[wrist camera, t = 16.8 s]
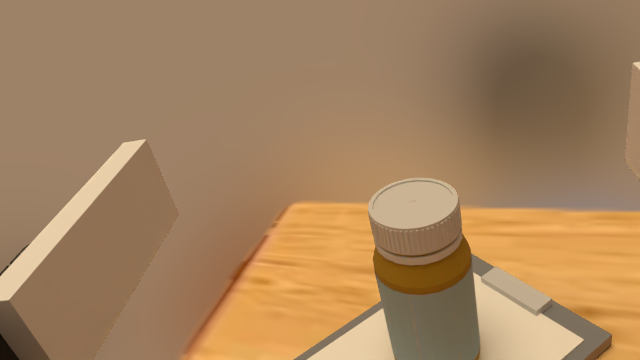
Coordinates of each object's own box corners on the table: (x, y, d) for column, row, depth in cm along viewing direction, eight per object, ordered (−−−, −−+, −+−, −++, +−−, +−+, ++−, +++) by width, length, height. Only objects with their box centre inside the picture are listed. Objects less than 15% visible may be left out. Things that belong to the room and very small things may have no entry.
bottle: (483, 323, 45) (469, 173, 37) (478, 394, 39) (460, 234, 32) (402, 317, 47) (374, 175, 40) (386, 382, 42) (350, 232, 35)
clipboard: (461, 256, 55) (460, 241, 54) (611, 345, 42) (612, 327, 41) (280, 379, 46) (274, 364, 45) (399, 535, 34) (394, 518, 33)
